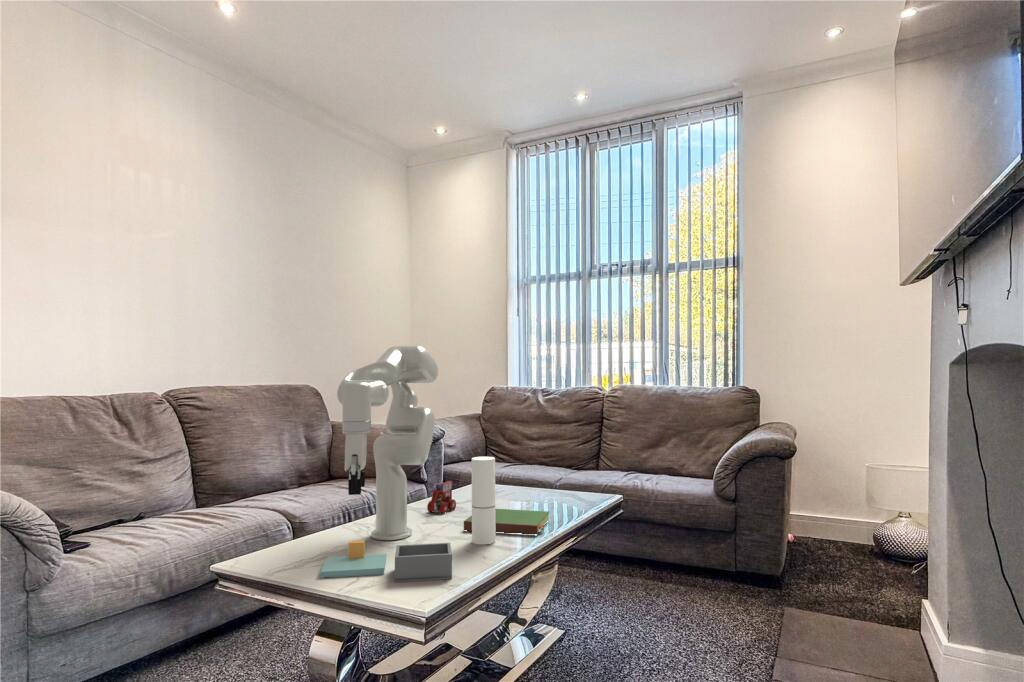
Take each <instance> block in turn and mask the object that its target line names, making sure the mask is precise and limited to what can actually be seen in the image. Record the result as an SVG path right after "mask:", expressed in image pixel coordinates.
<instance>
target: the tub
mask: <svg viewBox="0 0 1024 682" xmlns="http://www.w3.org/2000/svg"><path fill="white" fill-rule="evenodd" d="M452 560H453V552H452V546H451V542H436V543H435V542H434V543H420V544H419V543H418V544H417V543H415V544H401V545H400V544H399V545H398V544H397V545H396V548H395V553H394V583H404V582H406V583H407V582H417V581H421V582H423V581H434V580H436V579H440V580H451V579H450V578H452V579H453V564H452V563H453V561H452Z"/></svg>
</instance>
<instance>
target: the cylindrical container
mask: <svg viewBox="0 0 1024 682" xmlns="http://www.w3.org/2000/svg"><path fill="white" fill-rule="evenodd" d="M495 509H496V458H495V457H494V456H475V457H472V458H471V516H472V532H471V543H472V542H473V543H476V544H490V543H493V542H495V541H496V538H497V537H496V526H495ZM473 543H472V544H473ZM495 543H496V542H495ZM476 544H475V545H476ZM493 544H494V543H493ZM490 545H491V544H490Z"/></svg>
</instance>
